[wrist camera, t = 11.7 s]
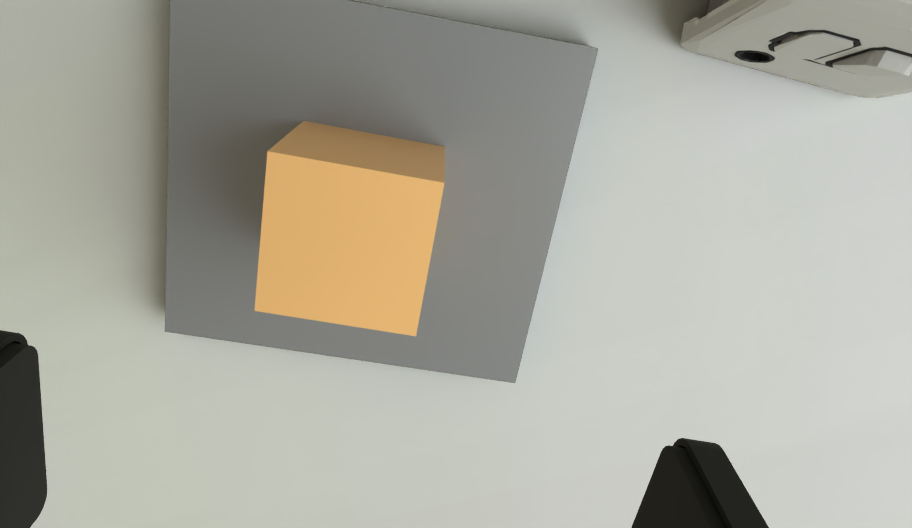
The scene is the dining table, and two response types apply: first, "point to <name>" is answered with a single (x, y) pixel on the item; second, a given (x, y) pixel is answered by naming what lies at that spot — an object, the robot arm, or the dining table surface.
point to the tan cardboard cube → (348, 227)
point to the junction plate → (379, 112)
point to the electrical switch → (813, 41)
